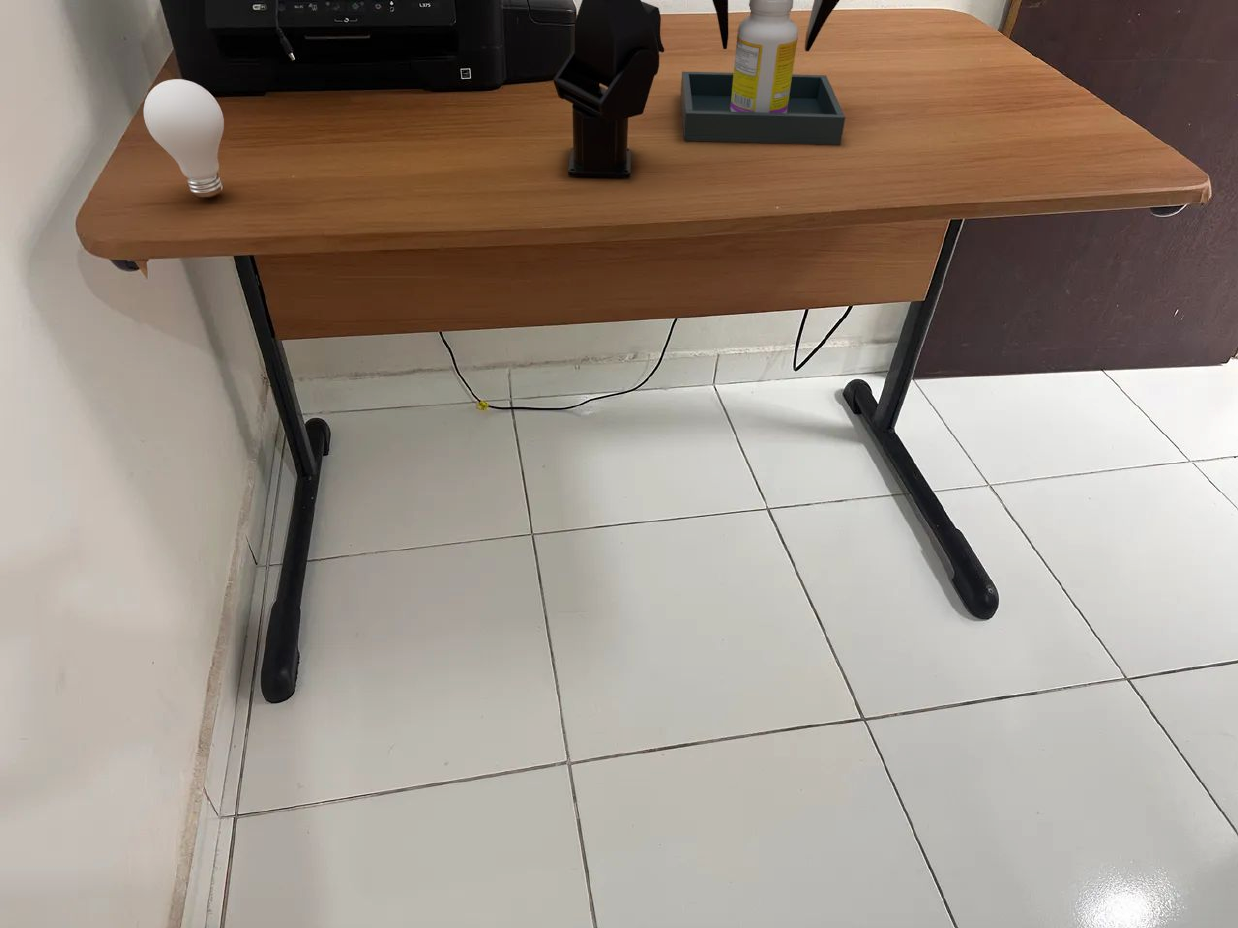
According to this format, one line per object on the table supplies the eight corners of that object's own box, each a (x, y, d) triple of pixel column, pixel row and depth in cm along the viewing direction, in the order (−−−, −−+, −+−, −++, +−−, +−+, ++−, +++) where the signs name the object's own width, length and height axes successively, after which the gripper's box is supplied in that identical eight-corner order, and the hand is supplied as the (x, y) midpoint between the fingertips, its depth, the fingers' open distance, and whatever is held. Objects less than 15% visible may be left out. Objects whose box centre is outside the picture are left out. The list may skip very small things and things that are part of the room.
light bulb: (253, 183, 87) (221, 69, 80) (233, 213, 83) (198, 94, 75) (186, 182, 87) (148, 68, 80) (162, 212, 82) (120, 94, 75)
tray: (840, 145, 97) (845, 117, 95) (684, 141, 97) (685, 113, 95) (821, 101, 107) (826, 75, 105) (680, 97, 108) (681, 71, 105)
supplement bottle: (785, 106, 104) (802, -12, 95) (787, 128, 99) (805, 5, 91) (729, 103, 105) (741, -15, 96) (728, 124, 100) (741, 2, 91)
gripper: (864, -128, 93) (836, 29, 103) (689, -132, 93) (680, 25, 103) (885, -108, 84) (853, 60, 95) (694, -113, 84) (683, 56, 95)
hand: (765, 49), depth 97 cm, fingers open, 9 cm apart
